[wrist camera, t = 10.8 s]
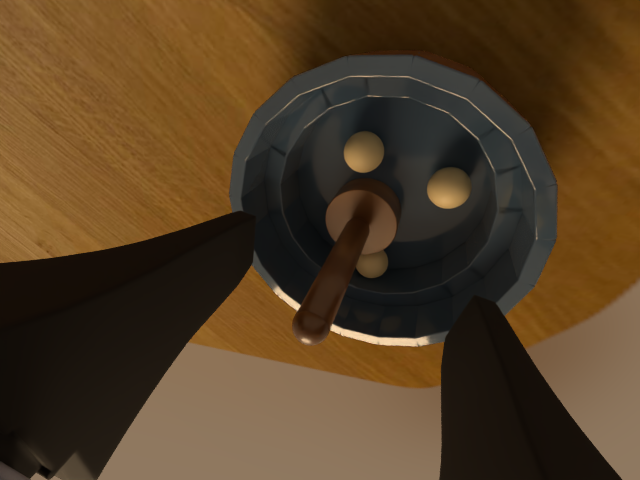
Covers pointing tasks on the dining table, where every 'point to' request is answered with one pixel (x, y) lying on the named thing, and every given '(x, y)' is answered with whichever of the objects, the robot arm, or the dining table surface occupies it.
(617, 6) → the dining table surface
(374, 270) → the chickpea
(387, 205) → the wooden pestle
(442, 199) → the chickpea
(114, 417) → the robot arm
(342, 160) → the bowl
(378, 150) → the chickpea
